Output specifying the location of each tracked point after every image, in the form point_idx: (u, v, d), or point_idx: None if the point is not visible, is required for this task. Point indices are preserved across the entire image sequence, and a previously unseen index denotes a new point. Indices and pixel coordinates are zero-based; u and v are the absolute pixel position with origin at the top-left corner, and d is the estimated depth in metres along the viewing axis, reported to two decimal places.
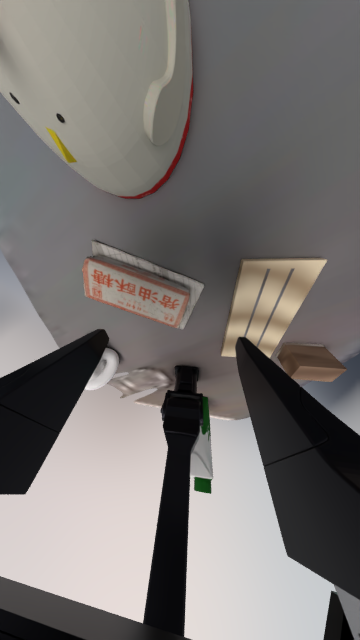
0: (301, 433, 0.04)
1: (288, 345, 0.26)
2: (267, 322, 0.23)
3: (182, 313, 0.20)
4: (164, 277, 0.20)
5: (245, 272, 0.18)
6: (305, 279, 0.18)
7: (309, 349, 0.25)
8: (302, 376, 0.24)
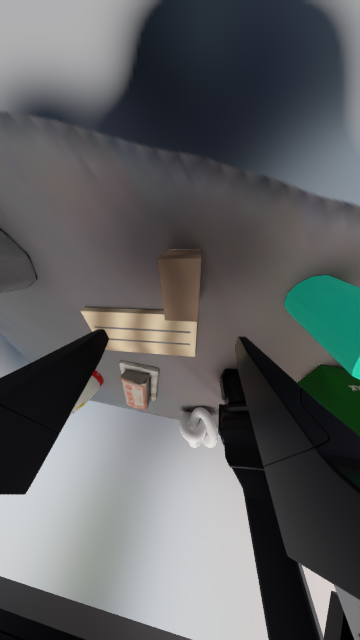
0: (300, 433, 0.04)
1: None
2: (141, 330, 0.23)
3: (131, 383, 0.30)
4: None
5: (108, 348, 0.28)
6: (96, 317, 0.23)
7: None
8: (189, 309, 0.15)
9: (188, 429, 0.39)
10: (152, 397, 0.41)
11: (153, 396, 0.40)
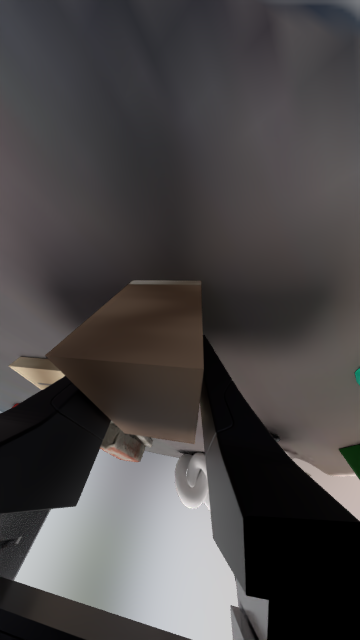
0: (212, 421, 0.04)
1: None
2: None
3: None
4: None
5: None
6: (35, 374, 0.14)
7: None
8: (174, 432, 0.06)
9: (185, 487, 0.30)
10: (146, 444, 0.32)
11: (146, 443, 0.31)
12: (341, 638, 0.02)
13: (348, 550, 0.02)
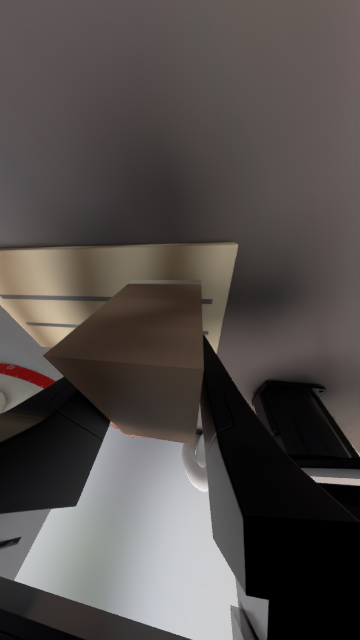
0: (212, 421, 0.04)
1: None
2: (98, 300, 0.10)
3: None
4: None
5: (49, 343, 0.15)
6: None
7: None
8: (174, 432, 0.06)
9: (196, 467, 0.26)
10: None
11: None
12: (341, 638, 0.02)
13: (348, 550, 0.02)
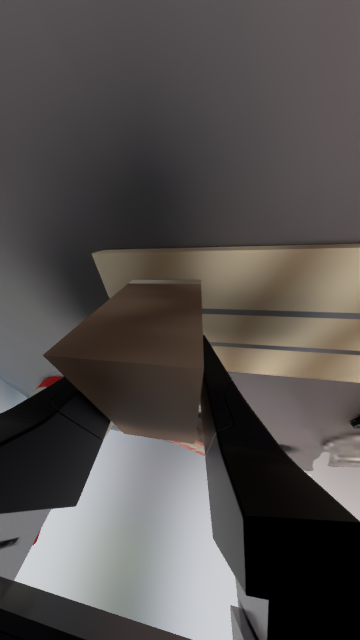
0: (212, 421, 0.04)
1: None
2: (265, 314, 0.08)
3: None
4: None
5: None
6: (139, 276, 0.08)
7: None
8: (174, 432, 0.06)
9: None
10: None
11: None
12: (341, 638, 0.02)
13: (348, 550, 0.02)
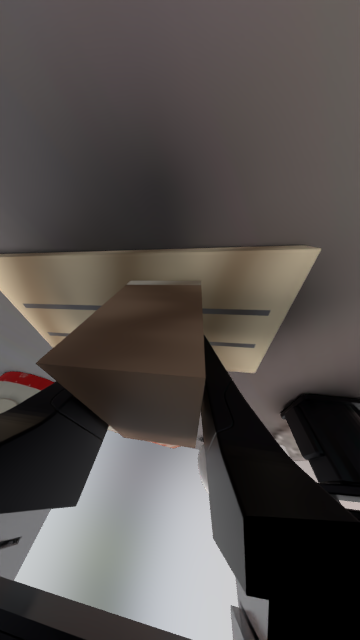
0: (212, 421, 0.04)
1: None
2: None
3: None
4: None
5: None
6: (17, 277, 0.09)
7: None
8: (174, 437, 0.06)
9: None
10: None
11: None
12: (341, 638, 0.02)
13: (348, 550, 0.02)
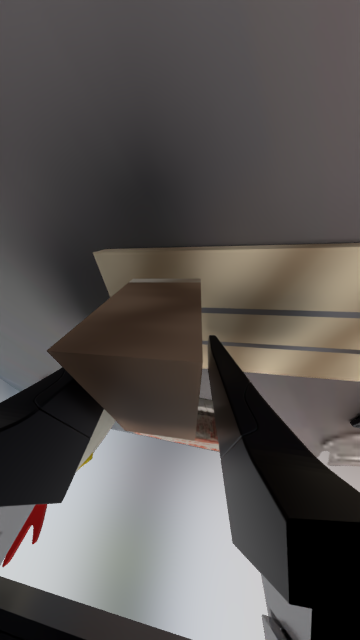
0: (235, 424, 0.04)
1: None
2: (266, 313, 0.08)
3: (138, 433, 0.19)
4: None
5: None
6: (140, 275, 0.08)
7: None
8: (175, 428, 0.06)
9: None
10: None
11: None
12: None
13: None
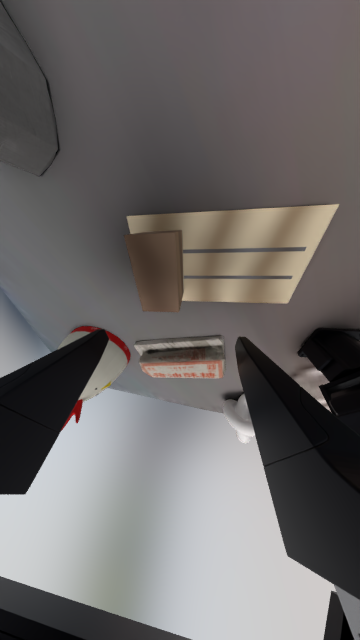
0: (301, 433, 0.04)
1: None
2: (219, 252, 0.15)
3: None
4: None
5: None
6: (150, 229, 0.14)
7: None
8: (168, 297, 0.13)
9: (241, 419, 0.30)
10: (210, 343, 0.24)
11: (205, 343, 0.24)
12: None
13: None
